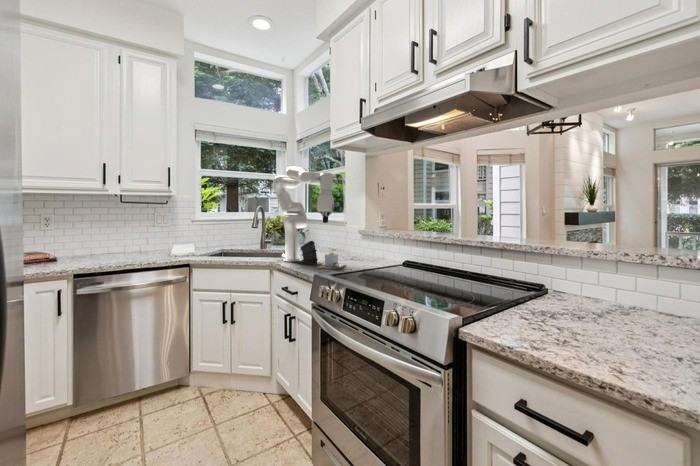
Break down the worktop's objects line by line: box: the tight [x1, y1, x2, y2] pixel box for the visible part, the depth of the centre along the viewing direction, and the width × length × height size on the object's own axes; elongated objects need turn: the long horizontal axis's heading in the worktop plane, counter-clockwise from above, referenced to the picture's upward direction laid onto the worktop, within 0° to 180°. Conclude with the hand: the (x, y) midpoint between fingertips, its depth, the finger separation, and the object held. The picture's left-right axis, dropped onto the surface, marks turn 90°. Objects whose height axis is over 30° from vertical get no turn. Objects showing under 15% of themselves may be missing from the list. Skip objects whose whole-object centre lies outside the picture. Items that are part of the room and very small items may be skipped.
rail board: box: [316, 261, 347, 271], centre depth 200 cm, size 12×14×2 cm
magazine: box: [299, 240, 319, 266], centre depth 214 cm, size 4×13×15 cm, turn 46°
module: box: [324, 251, 339, 267], centre depth 200 cm, size 5×7×8 cm
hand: (325, 222), depth 205 cm, fingers closed
